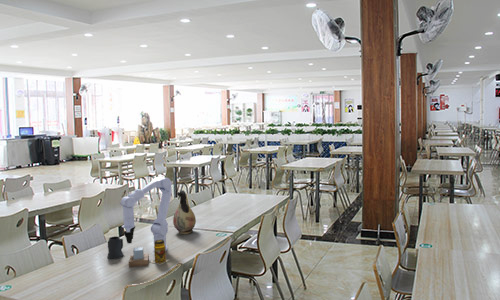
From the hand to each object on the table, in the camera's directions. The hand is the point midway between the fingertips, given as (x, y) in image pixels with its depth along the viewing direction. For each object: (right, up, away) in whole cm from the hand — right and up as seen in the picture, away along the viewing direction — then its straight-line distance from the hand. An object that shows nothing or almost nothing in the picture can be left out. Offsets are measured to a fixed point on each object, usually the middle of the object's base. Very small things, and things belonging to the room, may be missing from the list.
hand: (130, 241), depth 233 cm
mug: (-10, -10, +7) cm, 16 cm away
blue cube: (+7, -8, -6) cm, 12 cm away
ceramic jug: (+24, -5, +49) cm, 55 cm away
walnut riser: (+7, -11, -6) cm, 14 cm away
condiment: (+18, -11, -4) cm, 21 cm away
